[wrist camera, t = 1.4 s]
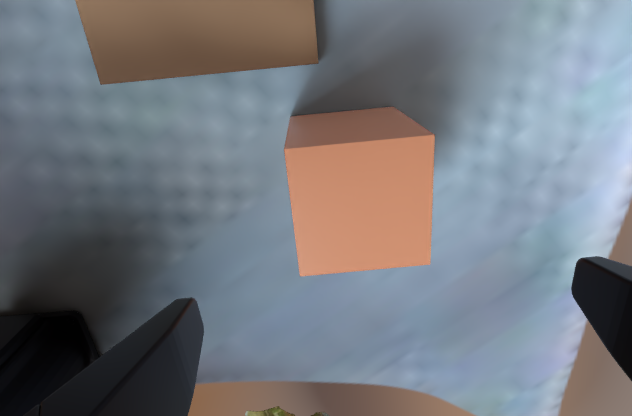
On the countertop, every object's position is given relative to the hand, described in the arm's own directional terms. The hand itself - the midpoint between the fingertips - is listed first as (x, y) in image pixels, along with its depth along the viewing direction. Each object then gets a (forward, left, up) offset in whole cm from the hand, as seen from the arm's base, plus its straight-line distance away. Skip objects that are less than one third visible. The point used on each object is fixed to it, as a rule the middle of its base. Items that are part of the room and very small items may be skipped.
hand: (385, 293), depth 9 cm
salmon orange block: (0, 0, -12) cm, 12 cm away
